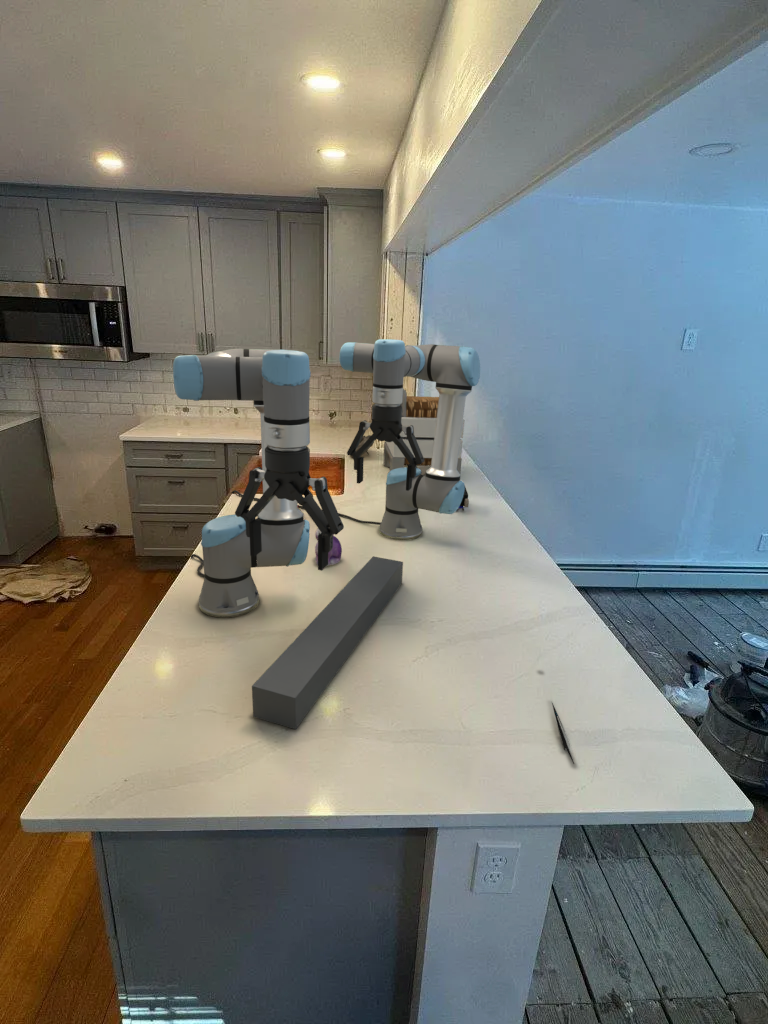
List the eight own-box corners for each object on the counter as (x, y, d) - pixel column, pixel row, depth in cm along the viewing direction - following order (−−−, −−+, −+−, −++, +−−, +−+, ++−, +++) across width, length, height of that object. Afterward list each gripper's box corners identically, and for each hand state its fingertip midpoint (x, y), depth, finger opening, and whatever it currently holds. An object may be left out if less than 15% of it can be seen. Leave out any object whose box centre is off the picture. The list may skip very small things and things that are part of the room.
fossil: (350, 441, 314) (371, 426, 309) (360, 454, 317) (382, 440, 312) (343, 455, 294) (366, 439, 289) (355, 469, 297) (378, 453, 292)
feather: (541, 676, 126) (546, 670, 126) (574, 768, 100) (581, 761, 99) (535, 672, 126) (540, 666, 126) (566, 764, 100) (573, 756, 99)
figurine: (319, 569, 170) (319, 523, 165) (307, 556, 178) (307, 511, 173) (348, 564, 174) (349, 519, 169) (335, 552, 182) (336, 508, 177)
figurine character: (468, 516, 224) (463, 500, 237) (471, 498, 221) (465, 483, 234) (452, 515, 224) (447, 499, 237) (453, 498, 220) (449, 482, 234)
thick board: (372, 578, 166) (373, 556, 164) (401, 584, 164) (403, 561, 161) (253, 716, 109) (251, 685, 106) (295, 729, 106) (295, 698, 103)
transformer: (382, 463, 289) (386, 382, 275) (445, 464, 293) (451, 384, 279) (390, 482, 257) (394, 392, 243) (460, 483, 261) (468, 394, 247)
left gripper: (210, 441, 96) (217, 555, 103) (346, 460, 88) (344, 582, 96) (235, 433, 102) (240, 541, 110) (364, 450, 95) (360, 564, 102)
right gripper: (335, 401, 142) (334, 483, 149) (431, 411, 134) (426, 496, 141) (346, 397, 148) (345, 475, 156) (439, 406, 141) (433, 488, 148)
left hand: (288, 560), depth 103 cm, fingers open, 13 cm apart
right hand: (383, 485), depth 149 cm, fingers open, 13 cm apart
